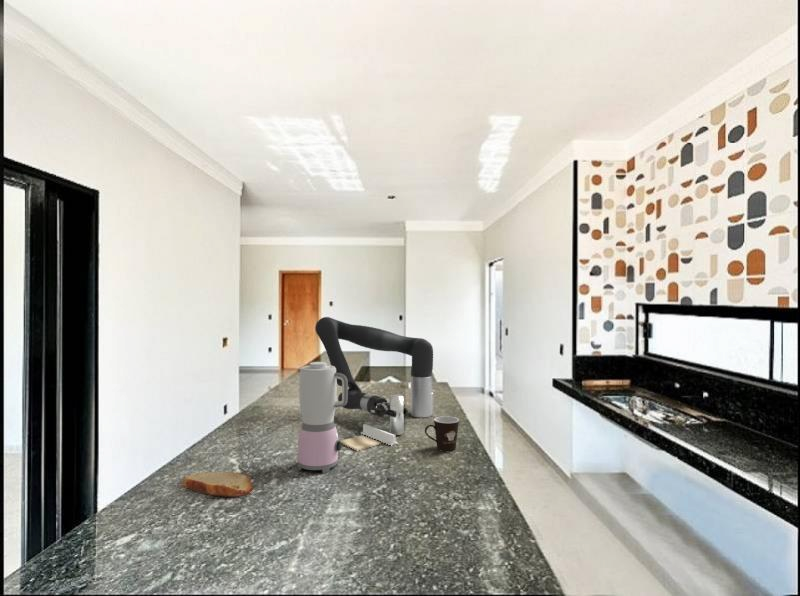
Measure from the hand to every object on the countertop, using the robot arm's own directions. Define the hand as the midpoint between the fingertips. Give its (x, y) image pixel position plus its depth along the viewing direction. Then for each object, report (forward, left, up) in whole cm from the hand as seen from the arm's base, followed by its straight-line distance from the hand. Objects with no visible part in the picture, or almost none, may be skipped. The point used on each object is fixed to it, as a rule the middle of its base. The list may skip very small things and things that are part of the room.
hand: (401, 412), depth 173 cm
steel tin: (0, -3, -8) cm, 8 cm away
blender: (+38, +7, -9) cm, 40 cm away
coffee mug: (-2, +19, -9) cm, 21 cm away
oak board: (+17, -3, -9) cm, 19 cm away
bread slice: (+68, +1, -9) cm, 69 cm away
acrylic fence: (+9, -3, -9) cm, 13 cm away
